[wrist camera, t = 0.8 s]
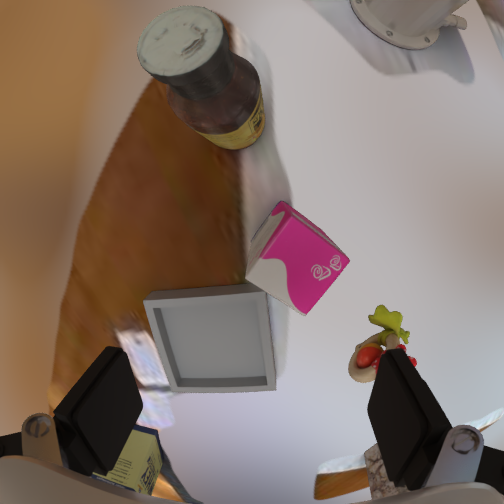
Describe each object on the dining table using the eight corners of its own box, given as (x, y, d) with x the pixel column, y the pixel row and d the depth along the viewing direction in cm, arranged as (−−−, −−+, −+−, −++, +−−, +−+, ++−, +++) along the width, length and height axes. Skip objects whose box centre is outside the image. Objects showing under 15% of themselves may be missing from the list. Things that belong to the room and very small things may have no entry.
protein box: (165, 458, 44) (145, 518, 29) (98, 438, 45) (70, 489, 30) (158, 429, 42) (131, 497, 27) (85, 407, 42) (48, 461, 27)
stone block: (356, 457, 42) (373, 542, 22) (378, 436, 40) (405, 525, 20) (402, 461, 42) (425, 531, 23) (424, 441, 40) (454, 514, 21)
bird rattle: (369, 349, 37) (421, 318, 32) (363, 417, 28) (429, 392, 23) (341, 326, 36) (394, 291, 31) (329, 398, 28) (399, 368, 22)
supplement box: (292, 271, 33) (303, 320, 22) (249, 241, 32) (239, 277, 21) (324, 230, 31) (352, 261, 20) (281, 198, 30) (287, 211, 19)
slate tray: (265, 281, 33) (264, 291, 30) (276, 376, 37) (276, 390, 34) (151, 291, 34) (143, 300, 32) (177, 379, 38) (172, 392, 35)
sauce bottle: (272, 142, 29) (277, 87, 10) (215, 158, 30) (130, 136, 11) (255, 87, 27) (233, -25, 8) (199, 103, 28) (108, 23, 9)
